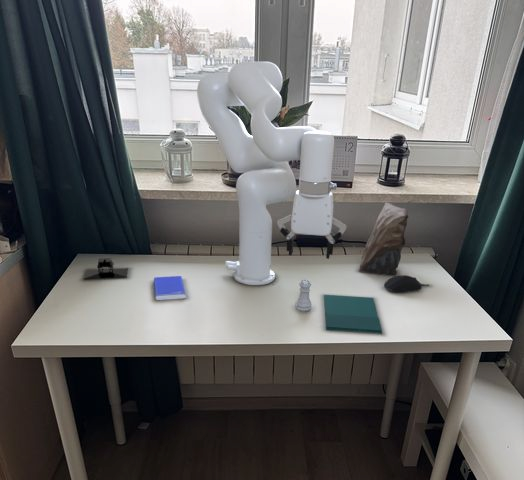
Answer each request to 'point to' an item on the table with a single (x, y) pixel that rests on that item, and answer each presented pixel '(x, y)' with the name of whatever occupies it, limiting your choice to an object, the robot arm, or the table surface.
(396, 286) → the gaming mouse
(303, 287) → the rook chess piece
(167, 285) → the hard drive
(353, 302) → the flat rectangular slab
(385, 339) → the table surface
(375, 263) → the brown faceted tall stone
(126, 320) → the table surface
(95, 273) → the build plate
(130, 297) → the table surface
